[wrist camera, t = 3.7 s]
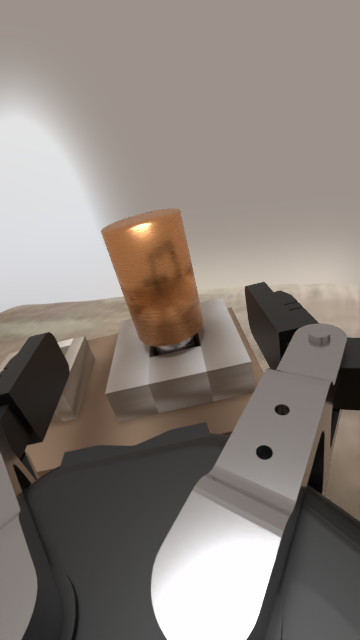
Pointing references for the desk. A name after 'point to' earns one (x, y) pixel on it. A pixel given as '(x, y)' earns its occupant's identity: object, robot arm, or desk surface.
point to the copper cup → (156, 278)
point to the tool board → (134, 430)
